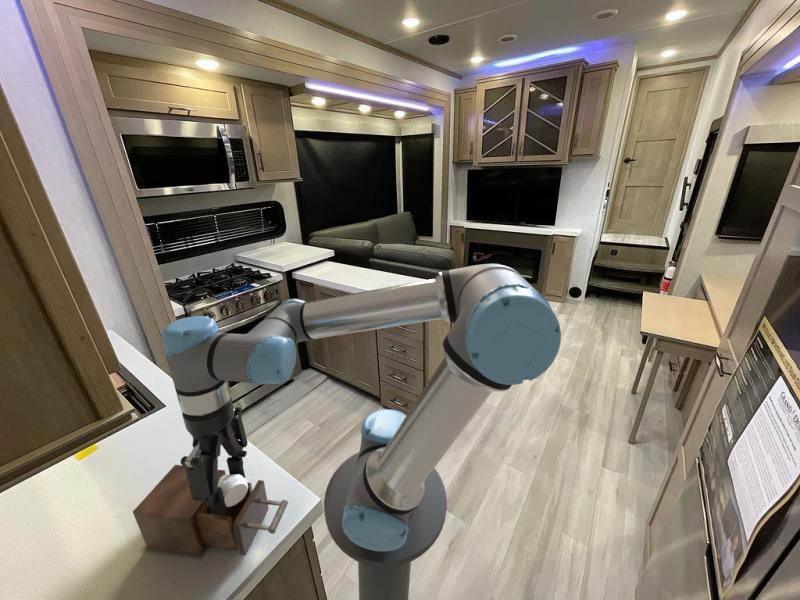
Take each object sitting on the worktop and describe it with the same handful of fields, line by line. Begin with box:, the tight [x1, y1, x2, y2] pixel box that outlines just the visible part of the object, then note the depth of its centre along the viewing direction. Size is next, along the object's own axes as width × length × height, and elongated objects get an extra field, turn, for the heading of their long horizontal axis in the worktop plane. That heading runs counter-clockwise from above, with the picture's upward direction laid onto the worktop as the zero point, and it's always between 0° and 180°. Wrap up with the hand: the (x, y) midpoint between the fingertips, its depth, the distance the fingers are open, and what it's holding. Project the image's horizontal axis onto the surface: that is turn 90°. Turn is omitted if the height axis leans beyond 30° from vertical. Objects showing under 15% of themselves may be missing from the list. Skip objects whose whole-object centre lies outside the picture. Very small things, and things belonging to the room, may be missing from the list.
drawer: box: [194, 479, 289, 556], centre depth 65 cm, size 16×9×9 cm, turn 84°
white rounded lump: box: [218, 473, 248, 507], centre depth 63 cm, size 6×6×5 cm
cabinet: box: [132, 464, 227, 556], centre depth 66 cm, size 12×11×11 cm
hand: (229, 496), depth 63 cm, fingers closed on white rounded lump, 6 cm apart
